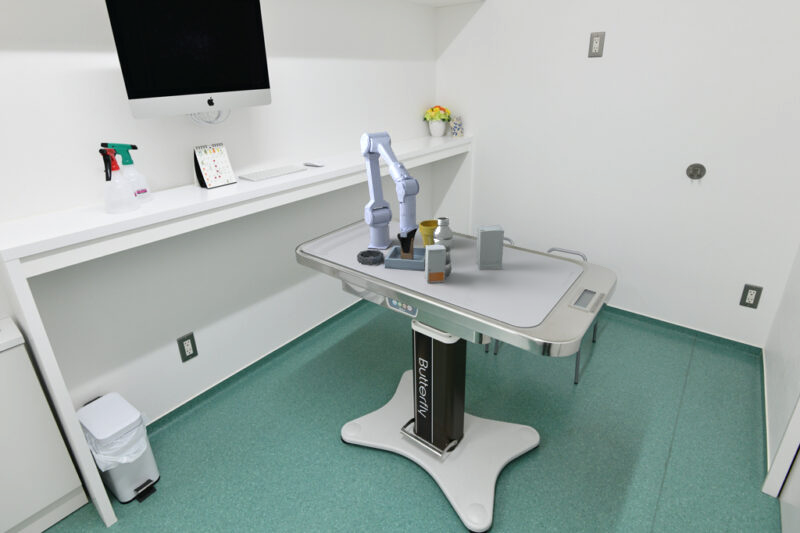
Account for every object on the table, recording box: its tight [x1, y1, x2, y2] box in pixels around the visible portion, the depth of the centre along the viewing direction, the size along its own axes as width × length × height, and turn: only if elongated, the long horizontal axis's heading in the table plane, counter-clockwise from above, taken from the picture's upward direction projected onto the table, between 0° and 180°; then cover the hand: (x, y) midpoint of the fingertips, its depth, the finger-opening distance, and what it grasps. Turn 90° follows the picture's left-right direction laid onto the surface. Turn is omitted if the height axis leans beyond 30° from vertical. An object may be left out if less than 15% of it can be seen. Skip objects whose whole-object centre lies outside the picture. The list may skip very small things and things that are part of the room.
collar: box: [356, 249, 385, 266], centre depth 167 cm, size 9×9×2 cm
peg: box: [399, 238, 415, 260], centre depth 164 cm, size 4×4×8 cm
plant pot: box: [418, 219, 438, 248], centre depth 179 cm, size 10×10×10 cm
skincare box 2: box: [476, 224, 505, 271], centre depth 158 cm, size 8×6×15 cm
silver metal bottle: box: [433, 216, 454, 277], centre depth 151 cm, size 6×7×20 cm
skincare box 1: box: [424, 245, 446, 284], centre depth 148 cm, size 6×4×12 cm
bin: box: [384, 245, 426, 272], centre depth 165 cm, size 14×14×4 cm
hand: (407, 249), depth 164 cm, fingers open, 6 cm apart
